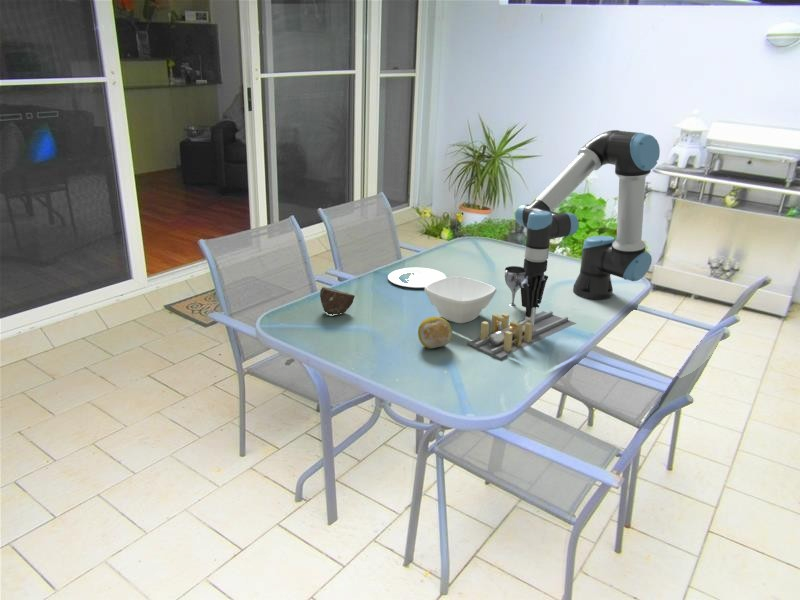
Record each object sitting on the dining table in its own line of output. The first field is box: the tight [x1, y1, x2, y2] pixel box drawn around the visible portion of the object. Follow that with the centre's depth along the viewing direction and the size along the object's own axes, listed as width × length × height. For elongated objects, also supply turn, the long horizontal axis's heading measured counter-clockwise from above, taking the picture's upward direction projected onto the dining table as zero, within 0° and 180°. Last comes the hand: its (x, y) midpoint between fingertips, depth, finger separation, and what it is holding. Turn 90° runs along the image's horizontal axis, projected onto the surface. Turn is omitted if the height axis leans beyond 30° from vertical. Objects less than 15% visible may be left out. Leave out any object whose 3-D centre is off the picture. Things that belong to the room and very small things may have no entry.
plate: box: [387, 267, 448, 289], centre depth 253 cm, size 25×25×2 cm
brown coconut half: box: [319, 286, 355, 315], centre depth 216 cm, size 12×10×10 cm
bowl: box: [423, 275, 497, 324], centre depth 214 cm, size 22×22×12 cm
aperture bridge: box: [490, 313, 523, 347], centre depth 196 cm, size 2×12×7 cm, turn 41°
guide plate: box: [466, 310, 576, 361], centre depth 202 cm, size 41×14×7 cm, turn 131°
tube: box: [489, 320, 533, 346], centre depth 198 cm, size 18×4×4 cm, turn 131°
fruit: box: [417, 316, 453, 349], centre depth 192 cm, size 10×11×10 cm
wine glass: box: [504, 265, 526, 307], centre depth 224 cm, size 8×8×15 cm
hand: (529, 324), depth 204 cm, fingers closed
